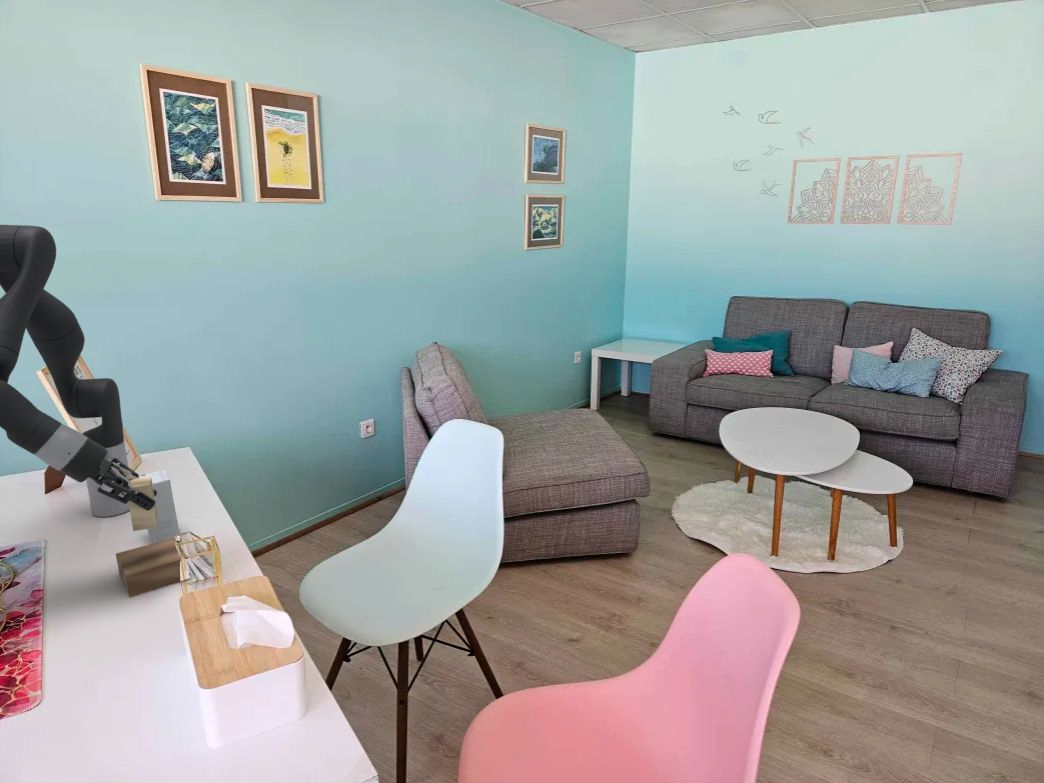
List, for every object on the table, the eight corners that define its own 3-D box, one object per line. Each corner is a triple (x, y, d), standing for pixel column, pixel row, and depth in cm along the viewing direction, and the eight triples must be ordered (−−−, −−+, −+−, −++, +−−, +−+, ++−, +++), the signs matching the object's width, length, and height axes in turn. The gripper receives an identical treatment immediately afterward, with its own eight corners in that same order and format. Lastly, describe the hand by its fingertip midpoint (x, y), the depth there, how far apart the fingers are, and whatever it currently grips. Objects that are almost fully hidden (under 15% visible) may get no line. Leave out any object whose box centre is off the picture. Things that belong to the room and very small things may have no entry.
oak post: (135, 521, 138) (128, 479, 135) (157, 518, 139) (151, 476, 137) (133, 531, 134) (126, 488, 131) (156, 527, 135) (149, 484, 133)
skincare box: (181, 541, 154) (172, 479, 150) (151, 548, 151) (141, 485, 147) (176, 527, 161) (167, 468, 157) (147, 534, 158) (137, 473, 154)
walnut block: (119, 575, 141) (115, 553, 139) (177, 558, 147) (174, 537, 146) (129, 598, 132) (125, 575, 131) (191, 580, 139) (187, 557, 138)
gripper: (79, 449, 122) (165, 500, 130) (91, 426, 135) (168, 474, 143) (50, 482, 121) (137, 531, 129) (63, 456, 134) (143, 502, 142)
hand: (153, 501), depth 136 cm, fingers closed on oak post, 4 cm apart
